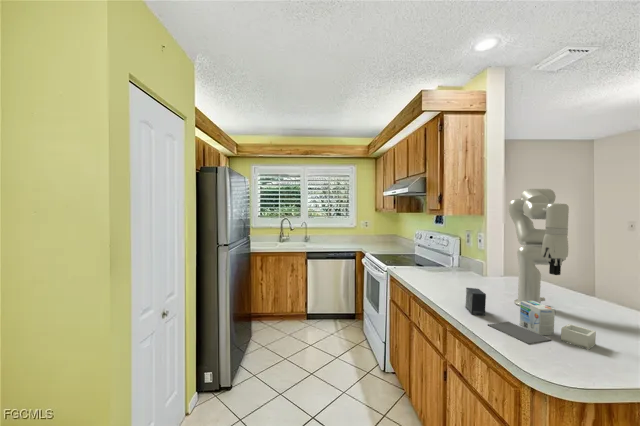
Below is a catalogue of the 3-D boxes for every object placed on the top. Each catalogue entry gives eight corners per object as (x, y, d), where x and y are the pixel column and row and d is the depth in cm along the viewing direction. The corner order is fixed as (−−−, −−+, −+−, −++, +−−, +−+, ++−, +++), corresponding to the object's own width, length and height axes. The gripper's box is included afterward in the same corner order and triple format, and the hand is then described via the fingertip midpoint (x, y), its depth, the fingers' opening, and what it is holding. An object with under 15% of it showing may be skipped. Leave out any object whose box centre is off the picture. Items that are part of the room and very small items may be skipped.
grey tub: (568, 336, 116) (569, 323, 116) (595, 344, 110) (595, 331, 110) (561, 340, 112) (561, 328, 112) (588, 349, 105) (588, 336, 105)
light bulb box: (518, 324, 127) (519, 300, 127) (533, 324, 128) (534, 300, 127) (539, 335, 116) (540, 309, 116) (554, 335, 117) (555, 309, 117)
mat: (508, 322, 129) (508, 321, 129) (551, 340, 112) (551, 339, 112) (487, 325, 126) (487, 324, 126) (528, 344, 109) (528, 343, 109)
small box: (486, 316, 137) (486, 294, 136) (471, 314, 138) (472, 293, 138) (478, 308, 147) (479, 288, 147) (464, 307, 148) (465, 287, 148)
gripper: (559, 231, 130) (557, 271, 130) (534, 231, 125) (533, 273, 126) (578, 232, 123) (576, 275, 123) (553, 233, 118) (551, 277, 119)
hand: (554, 274), depth 125 cm, fingers closed
